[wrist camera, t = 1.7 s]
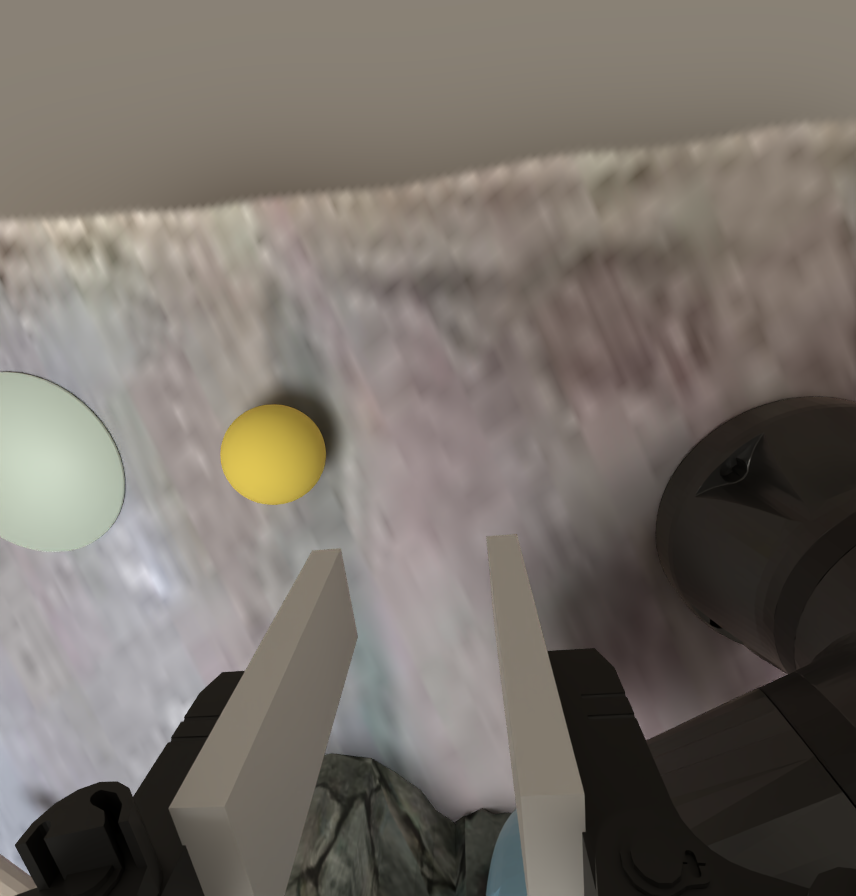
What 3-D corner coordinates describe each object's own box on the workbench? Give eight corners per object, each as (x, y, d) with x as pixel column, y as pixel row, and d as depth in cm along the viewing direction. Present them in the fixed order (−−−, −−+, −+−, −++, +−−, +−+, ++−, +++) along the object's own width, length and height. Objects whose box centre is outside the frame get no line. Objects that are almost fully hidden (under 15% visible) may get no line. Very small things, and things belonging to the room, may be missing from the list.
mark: (89, 361, 28) (86, 361, 28) (148, 543, 32) (146, 544, 32) (-95, 383, 29) (-99, 383, 29) (-18, 557, 33) (-21, 558, 33)
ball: (327, 390, 28) (297, 412, 23) (343, 478, 30) (319, 517, 24) (236, 400, 28) (187, 424, 23) (257, 486, 30) (215, 526, 25)
